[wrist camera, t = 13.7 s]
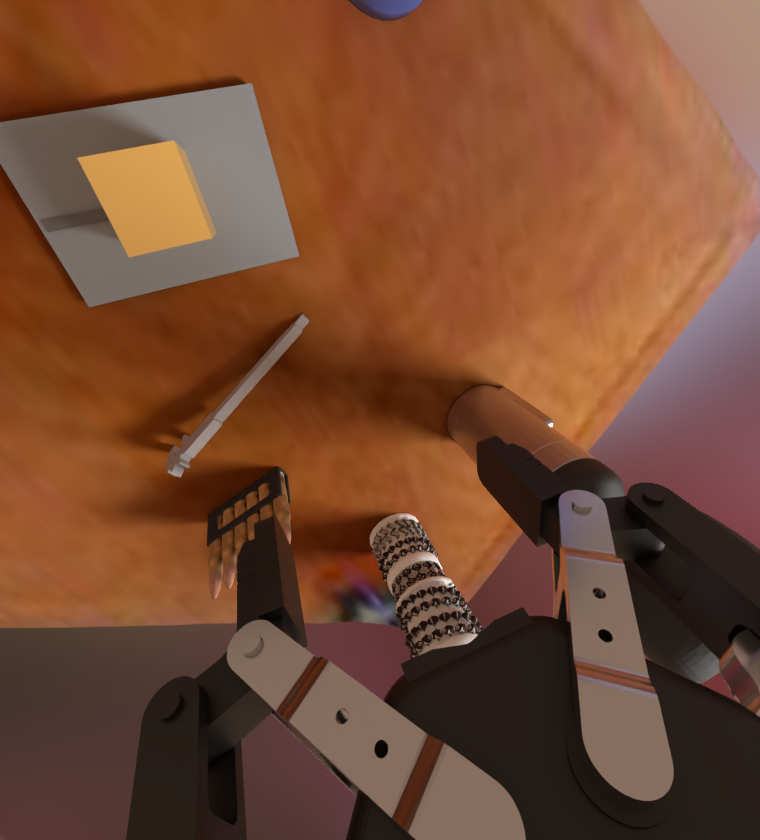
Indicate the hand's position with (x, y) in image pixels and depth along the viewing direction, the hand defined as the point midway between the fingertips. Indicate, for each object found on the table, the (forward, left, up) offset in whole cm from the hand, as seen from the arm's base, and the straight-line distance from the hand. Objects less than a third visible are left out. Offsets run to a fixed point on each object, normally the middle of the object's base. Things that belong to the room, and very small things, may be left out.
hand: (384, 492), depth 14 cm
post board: (+7, -11, -28) cm, 31 cm away
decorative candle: (-5, +37, -28) cm, 47 cm away
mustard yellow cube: (+7, -11, -27) cm, 30 cm away
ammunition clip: (+12, +20, -28) cm, 37 cm away
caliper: (+8, +6, -29) cm, 30 cm away
